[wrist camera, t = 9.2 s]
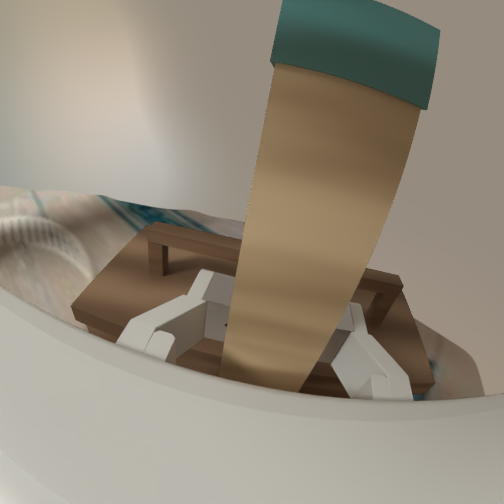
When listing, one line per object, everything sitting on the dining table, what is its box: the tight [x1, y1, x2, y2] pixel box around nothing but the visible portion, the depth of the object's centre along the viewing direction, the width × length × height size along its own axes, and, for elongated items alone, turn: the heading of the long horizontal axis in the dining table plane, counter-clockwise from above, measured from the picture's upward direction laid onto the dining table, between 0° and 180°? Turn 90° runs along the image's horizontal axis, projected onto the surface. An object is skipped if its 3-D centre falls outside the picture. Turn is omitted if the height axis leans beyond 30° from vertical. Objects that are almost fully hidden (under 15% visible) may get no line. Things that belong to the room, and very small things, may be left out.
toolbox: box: [71, 221, 435, 399], centre depth 19 cm, size 21×27×12 cm
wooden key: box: [219, 0, 440, 393], centre depth 10 cm, size 4×4×21 cm
